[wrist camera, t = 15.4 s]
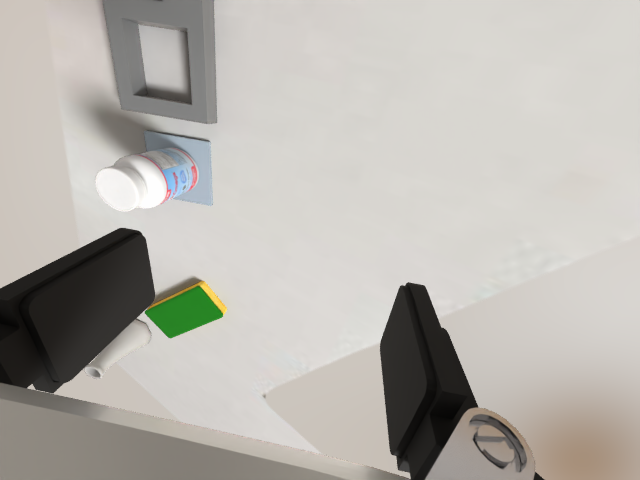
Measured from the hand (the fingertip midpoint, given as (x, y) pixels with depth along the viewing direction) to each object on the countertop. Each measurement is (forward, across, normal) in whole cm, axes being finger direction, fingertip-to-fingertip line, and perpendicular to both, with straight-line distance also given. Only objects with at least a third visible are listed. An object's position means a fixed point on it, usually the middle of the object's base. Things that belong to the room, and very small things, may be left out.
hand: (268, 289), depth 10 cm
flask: (+29, +34, +40) cm, 60 cm away
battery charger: (+28, +21, -14) cm, 38 cm away
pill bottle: (+28, +21, +5) cm, 35 cm away
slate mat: (+28, +21, +5) cm, 36 cm away
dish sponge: (+29, +22, +31) cm, 48 cm away
